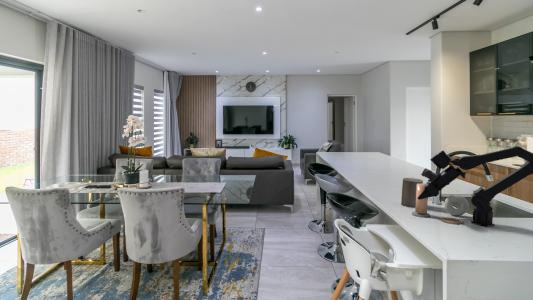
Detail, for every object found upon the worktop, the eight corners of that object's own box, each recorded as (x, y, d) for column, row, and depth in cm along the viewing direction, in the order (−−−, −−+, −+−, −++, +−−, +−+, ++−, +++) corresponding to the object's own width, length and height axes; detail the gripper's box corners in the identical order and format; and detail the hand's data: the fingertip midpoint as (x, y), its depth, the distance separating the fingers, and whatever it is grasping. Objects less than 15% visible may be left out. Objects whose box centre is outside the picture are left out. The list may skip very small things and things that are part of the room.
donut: (443, 215, 153) (445, 194, 152) (443, 213, 156) (444, 192, 155) (468, 217, 149) (470, 196, 148) (467, 215, 152) (468, 194, 151)
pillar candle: (397, 204, 171) (399, 176, 169) (406, 201, 177) (408, 174, 175) (415, 209, 163) (417, 179, 162) (424, 205, 170) (426, 177, 168)
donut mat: (465, 223, 141) (465, 221, 141) (452, 224, 139) (452, 223, 139) (449, 218, 148) (450, 216, 148) (437, 219, 146) (437, 218, 146)
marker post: (429, 213, 150) (430, 185, 149) (417, 213, 150) (419, 185, 149) (424, 210, 155) (425, 183, 154) (413, 210, 155) (414, 183, 154)
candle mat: (433, 216, 151) (433, 215, 151) (420, 217, 148) (421, 216, 148) (420, 211, 158) (420, 210, 158) (408, 213, 155) (408, 212, 155)
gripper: (435, 161, 157) (408, 181, 163) (431, 165, 141) (403, 187, 147) (452, 178, 153) (425, 198, 160) (451, 185, 137) (421, 207, 144)
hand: (418, 197), depth 153 cm, fingers closed on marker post, 5 cm apart
